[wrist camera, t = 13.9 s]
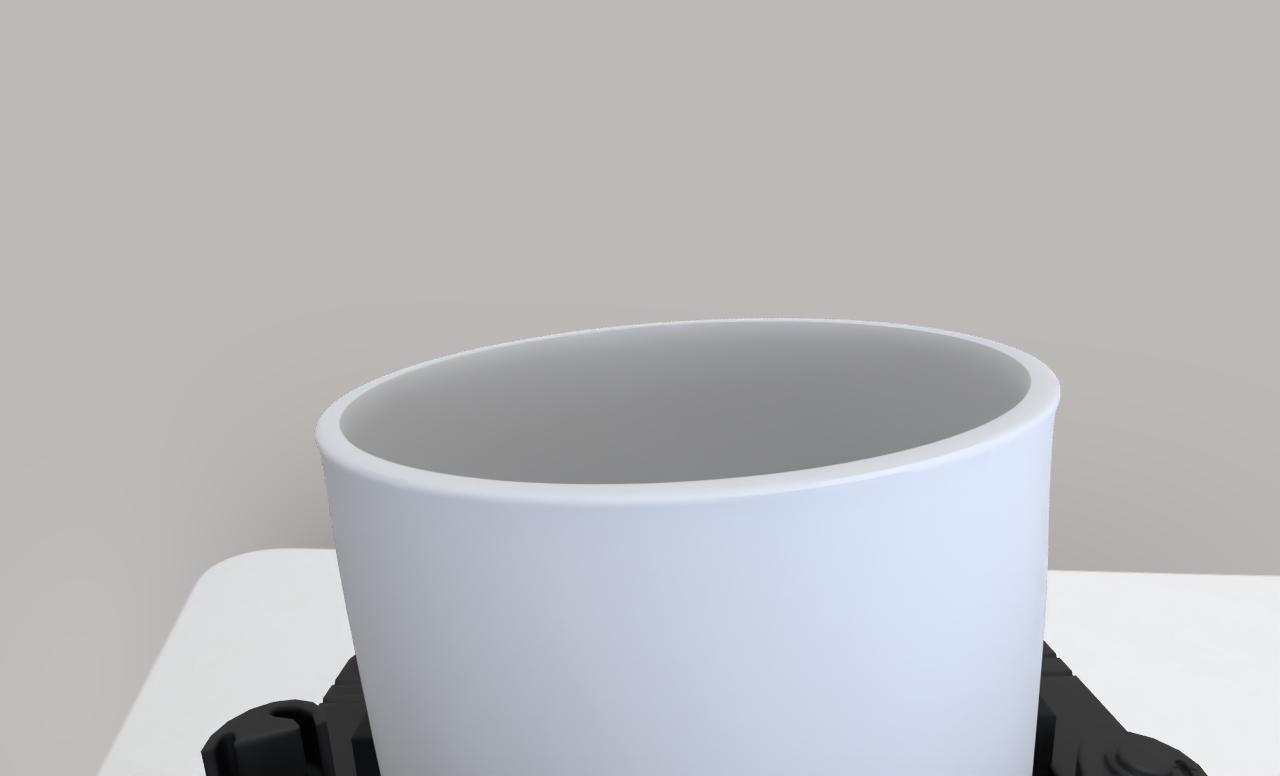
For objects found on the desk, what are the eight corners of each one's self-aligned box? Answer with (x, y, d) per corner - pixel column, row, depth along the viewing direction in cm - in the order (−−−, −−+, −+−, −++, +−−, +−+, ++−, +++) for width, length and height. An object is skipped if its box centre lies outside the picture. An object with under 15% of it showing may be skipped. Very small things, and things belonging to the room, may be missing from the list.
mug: (1154, 1564, 7) (1311, 410, 5) (473, 1857, 6) (161, 573, 4) (783, 806, 17) (764, 286, 14) (488, 870, 16) (407, 320, 13)
